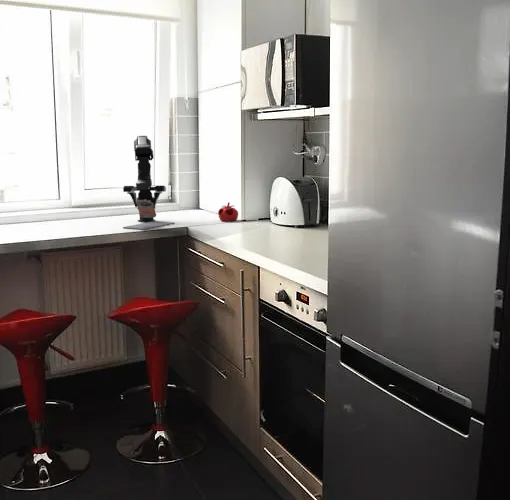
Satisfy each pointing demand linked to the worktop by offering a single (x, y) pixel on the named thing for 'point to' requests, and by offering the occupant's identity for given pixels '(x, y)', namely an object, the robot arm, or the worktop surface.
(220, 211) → the pomegranate
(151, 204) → the lighter
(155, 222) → the mat
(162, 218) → the worktop surface
